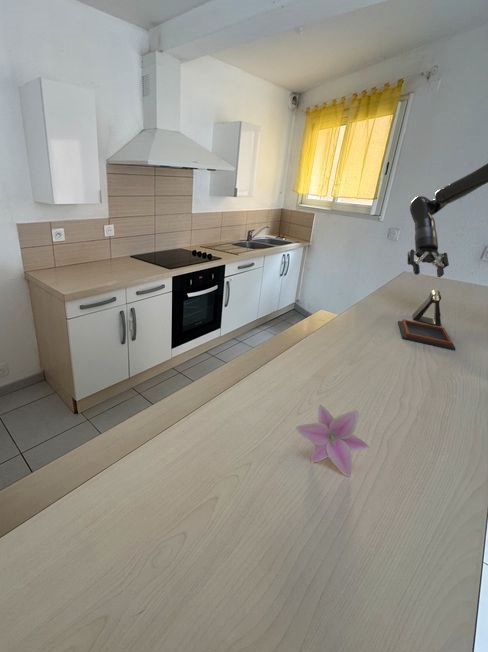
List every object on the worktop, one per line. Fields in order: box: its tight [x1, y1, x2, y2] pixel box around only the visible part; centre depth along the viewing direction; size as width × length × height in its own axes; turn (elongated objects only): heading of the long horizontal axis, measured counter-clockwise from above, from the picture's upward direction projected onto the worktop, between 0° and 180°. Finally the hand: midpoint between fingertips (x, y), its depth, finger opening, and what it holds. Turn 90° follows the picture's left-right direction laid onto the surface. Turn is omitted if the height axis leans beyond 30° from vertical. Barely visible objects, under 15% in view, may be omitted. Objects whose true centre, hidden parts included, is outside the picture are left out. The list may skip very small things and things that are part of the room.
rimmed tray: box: [397, 319, 456, 351], centre depth 115 cm, size 15×15×2 cm
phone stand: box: [412, 289, 442, 327], centre depth 125 cm, size 9×6×12 cm, turn 57°
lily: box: [295, 404, 370, 478], centre depth 63 cm, size 12×12×10 cm
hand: (428, 275), depth 130 cm, fingers open, 8 cm apart
